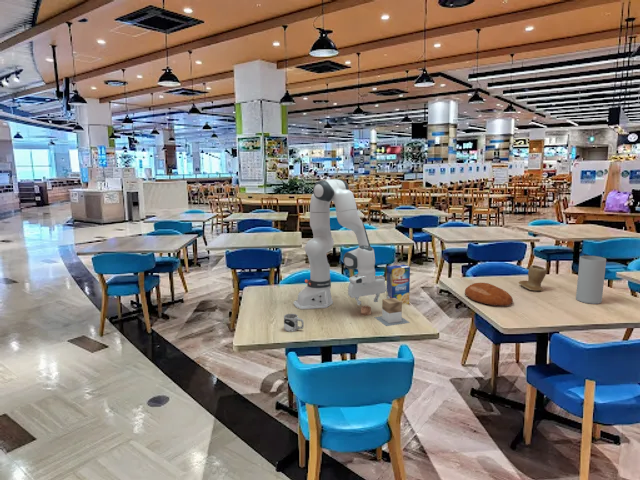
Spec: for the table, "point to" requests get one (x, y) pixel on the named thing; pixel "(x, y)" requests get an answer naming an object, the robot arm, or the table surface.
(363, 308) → the brown rounded knob
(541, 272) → the brown boot
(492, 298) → the bread
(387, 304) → the tan wooden block
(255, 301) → the table surface
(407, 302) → the beverage box
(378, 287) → the robot arm
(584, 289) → the cylinder vase
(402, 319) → the blue-grey board
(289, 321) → the mug
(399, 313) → the grey tower block
